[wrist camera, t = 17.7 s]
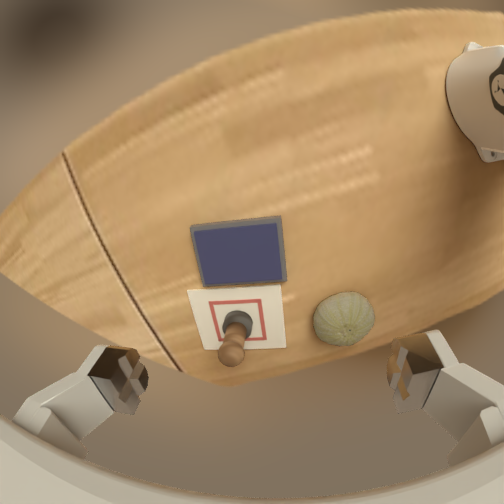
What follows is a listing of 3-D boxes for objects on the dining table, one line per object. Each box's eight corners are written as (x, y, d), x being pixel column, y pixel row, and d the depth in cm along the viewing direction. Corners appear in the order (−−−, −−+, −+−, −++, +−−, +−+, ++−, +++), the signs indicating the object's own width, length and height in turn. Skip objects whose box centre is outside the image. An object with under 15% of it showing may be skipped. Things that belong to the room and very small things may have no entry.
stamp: (250, 309, 42) (243, 350, 34) (254, 332, 44) (248, 373, 35) (222, 310, 43) (209, 351, 34) (227, 332, 44) (216, 373, 36)
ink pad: (280, 215, 36) (280, 219, 35) (286, 277, 40) (287, 282, 38) (191, 225, 38) (188, 228, 36) (204, 283, 41) (202, 288, 40)
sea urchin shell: (307, 296, 38) (355, 317, 33) (339, 275, 43) (383, 290, 37) (307, 345, 42) (348, 368, 36) (337, 321, 46) (376, 339, 40)
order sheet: (280, 284, 40) (280, 285, 40) (286, 346, 45) (286, 348, 44) (187, 289, 42) (186, 291, 42) (204, 348, 47) (204, 349, 46)
